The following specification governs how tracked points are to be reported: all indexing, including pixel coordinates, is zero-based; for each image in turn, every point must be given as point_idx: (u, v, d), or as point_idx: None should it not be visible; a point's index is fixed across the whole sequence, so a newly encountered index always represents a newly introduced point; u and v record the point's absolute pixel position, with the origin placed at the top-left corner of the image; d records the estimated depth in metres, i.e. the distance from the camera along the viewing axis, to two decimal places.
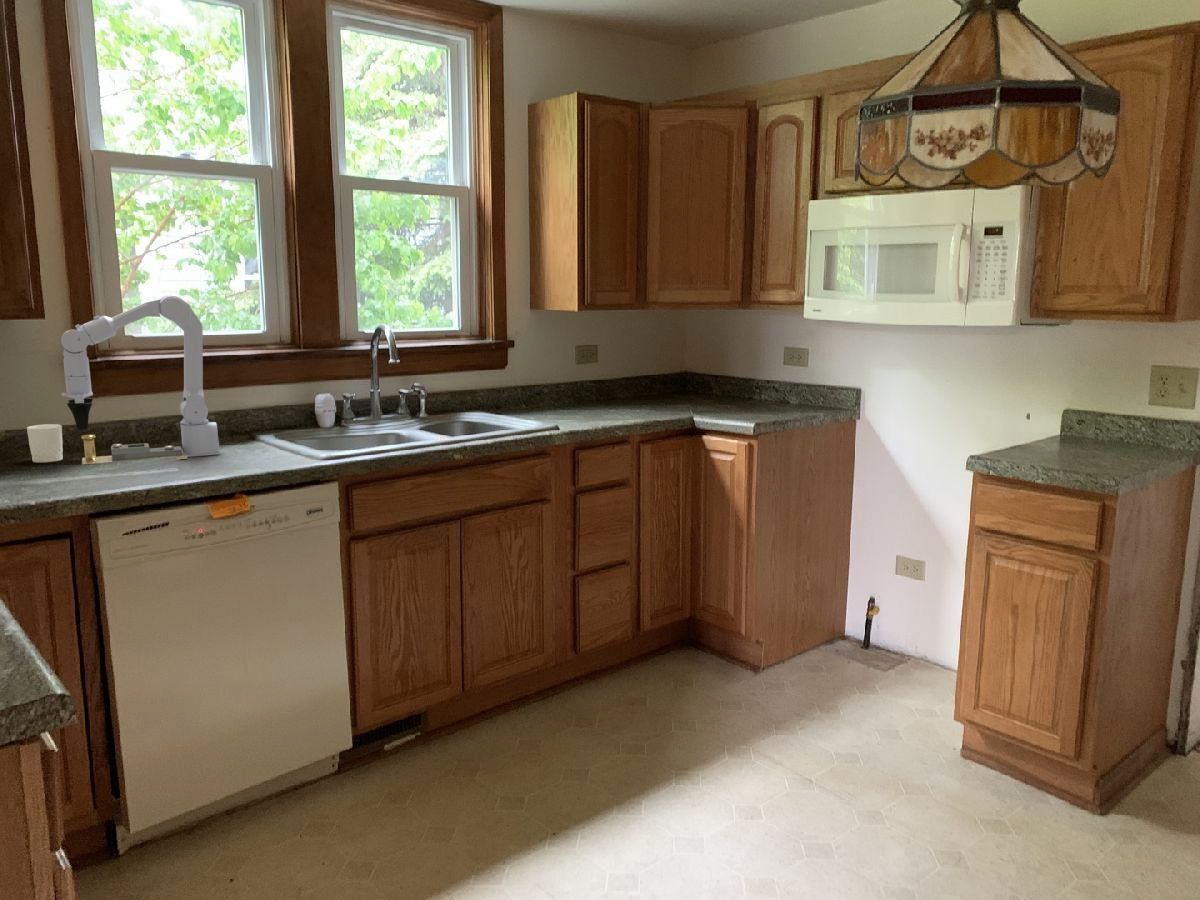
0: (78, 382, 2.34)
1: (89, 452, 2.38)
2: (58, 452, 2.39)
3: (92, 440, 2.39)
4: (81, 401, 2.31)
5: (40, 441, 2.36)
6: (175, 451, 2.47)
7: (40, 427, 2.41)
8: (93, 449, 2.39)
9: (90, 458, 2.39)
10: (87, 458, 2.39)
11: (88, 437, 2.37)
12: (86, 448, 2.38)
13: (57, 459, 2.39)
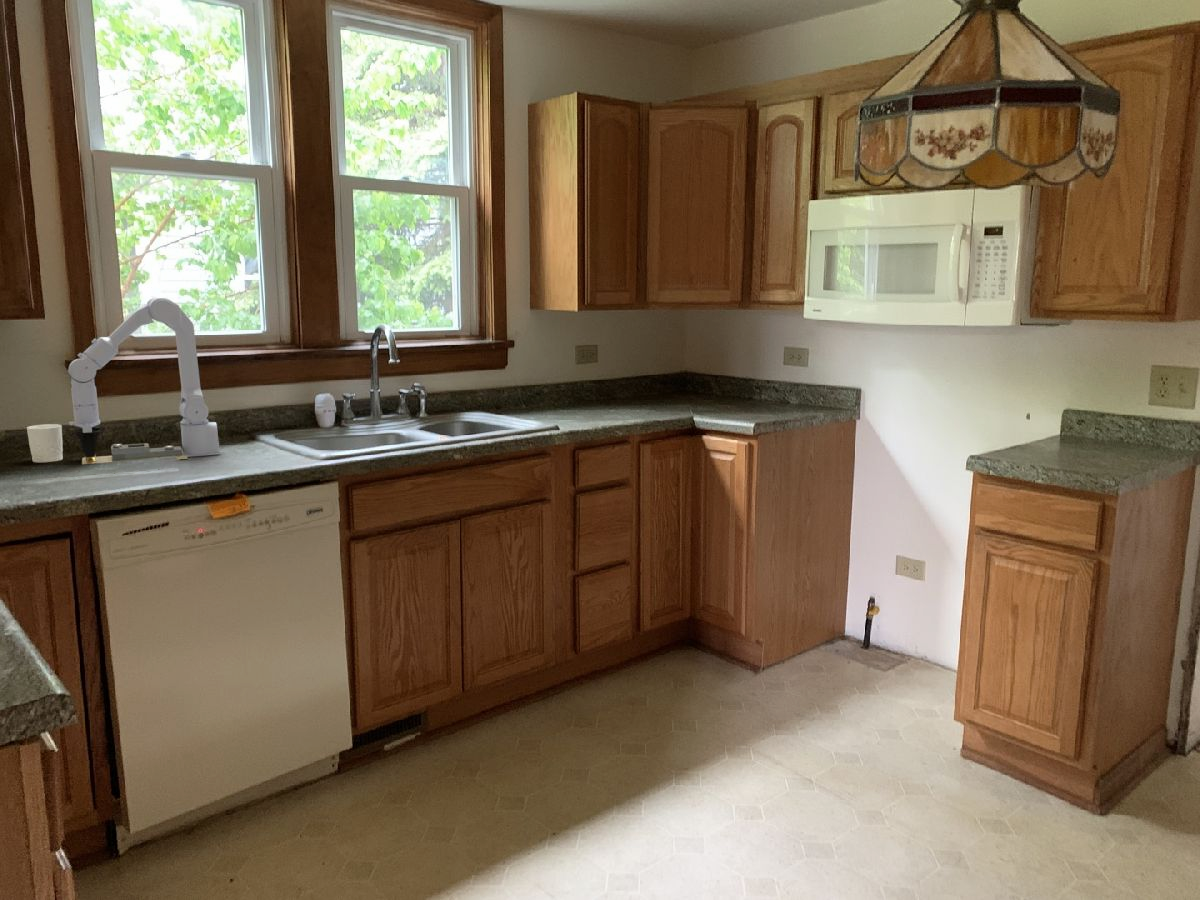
0: (86, 411, 2.35)
1: None
2: (58, 452, 2.39)
3: None
4: (89, 430, 2.32)
5: (40, 441, 2.36)
6: (175, 451, 2.47)
7: (40, 427, 2.41)
8: None
9: (90, 458, 2.39)
10: (87, 458, 2.39)
11: None
12: None
13: (57, 459, 2.39)
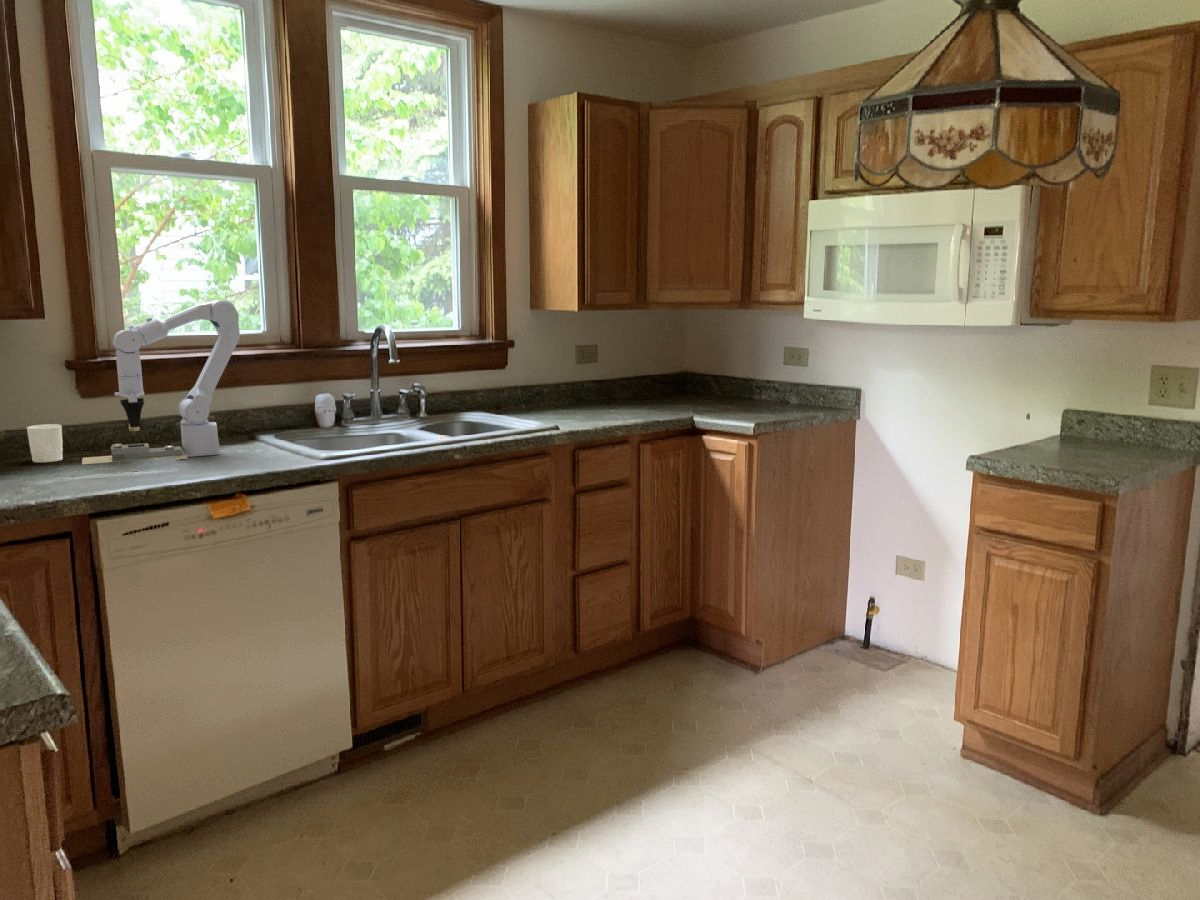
0: (131, 381, 2.39)
1: None
2: (58, 452, 2.39)
3: None
4: (134, 400, 2.36)
5: (40, 441, 2.36)
6: (175, 451, 2.47)
7: (40, 427, 2.41)
8: None
9: (134, 428, 2.43)
10: (131, 428, 2.42)
11: None
12: None
13: (57, 459, 2.39)
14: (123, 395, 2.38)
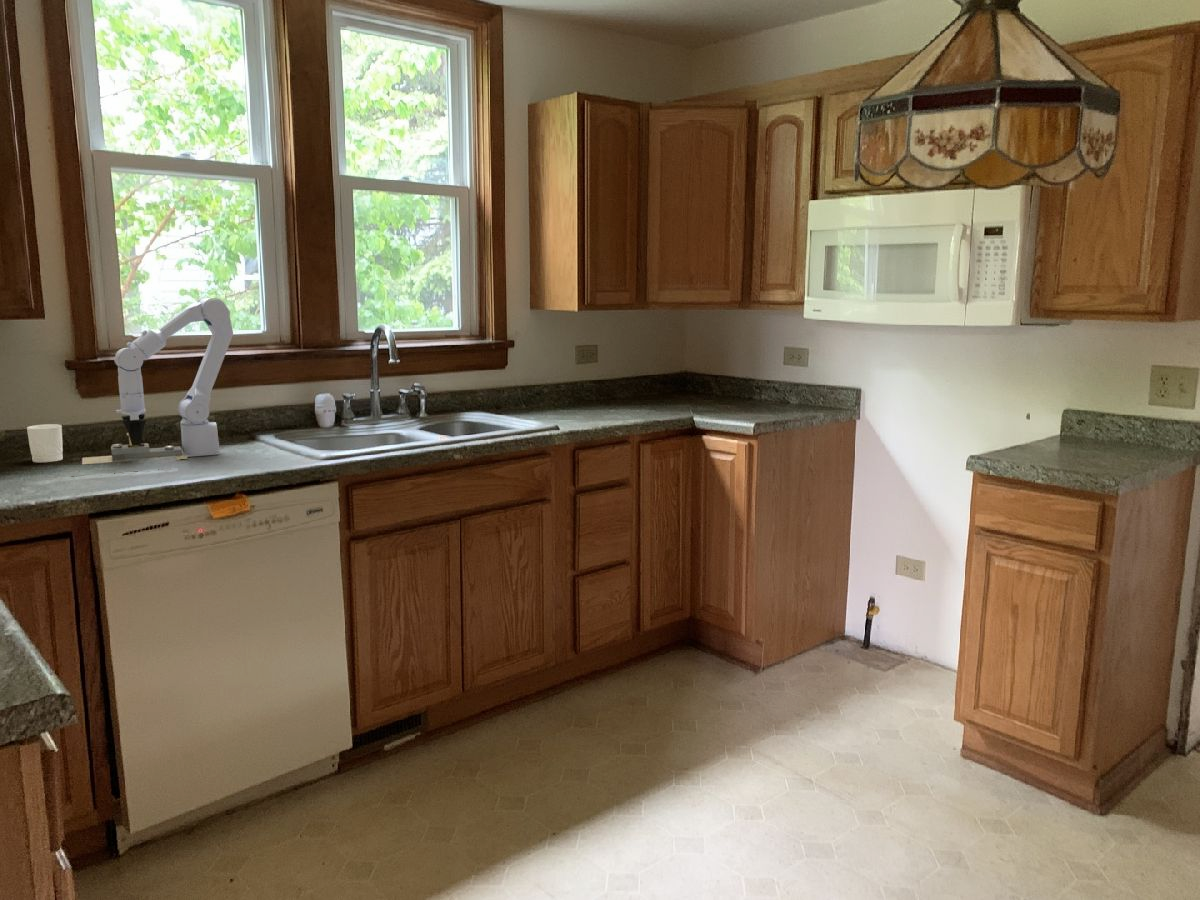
0: (133, 399, 2.40)
1: None
2: (58, 452, 2.39)
3: None
4: (136, 418, 2.37)
5: (40, 441, 2.36)
6: (175, 451, 2.47)
7: (40, 427, 2.41)
8: (138, 445, 2.44)
9: None
10: None
11: None
12: None
13: (57, 459, 2.39)
14: (125, 413, 2.39)
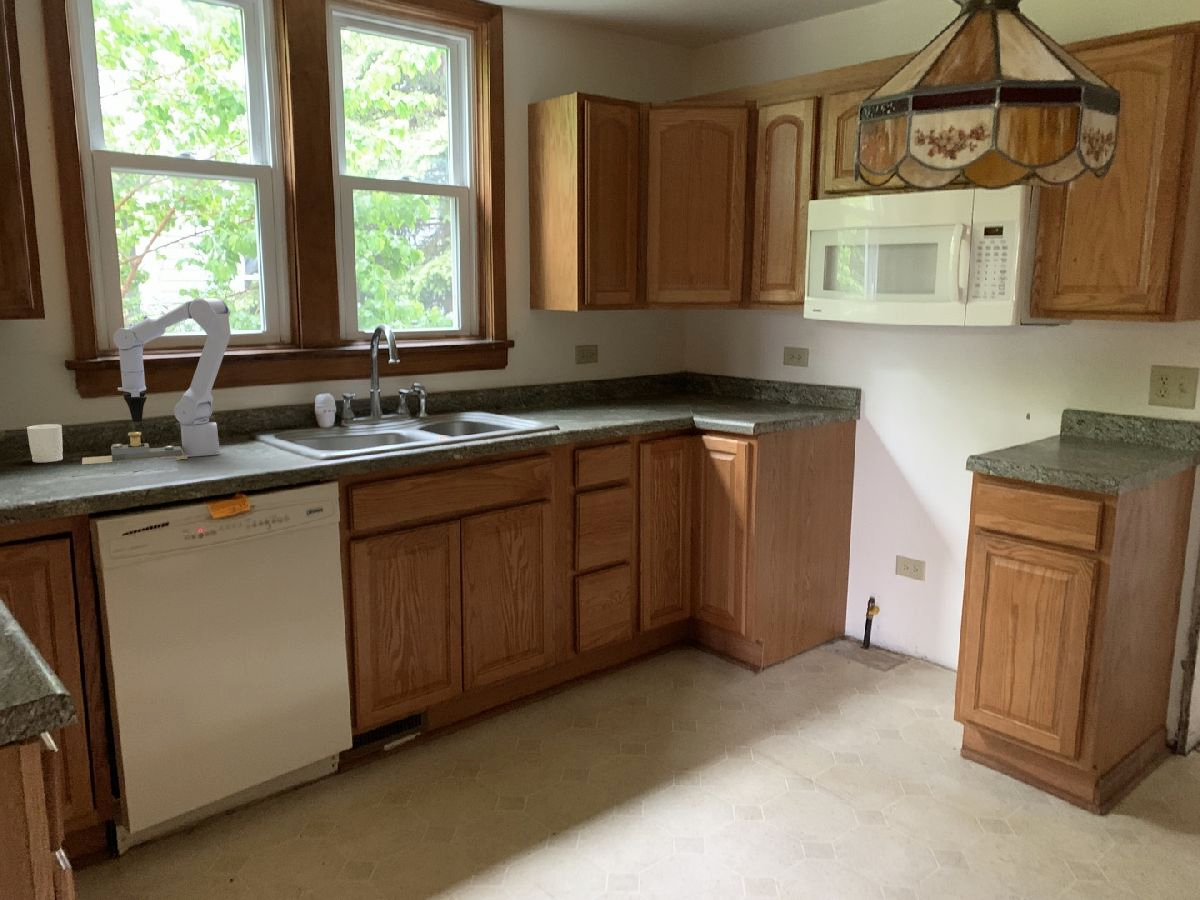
0: (133, 377, 2.50)
1: None
2: (58, 452, 2.39)
3: (138, 437, 2.44)
4: (137, 395, 2.47)
5: (40, 441, 2.36)
6: (175, 451, 2.47)
7: (40, 427, 2.41)
8: (139, 446, 2.44)
9: None
10: None
11: (134, 434, 2.43)
12: (132, 445, 2.43)
13: (57, 459, 2.39)
14: (126, 390, 2.49)
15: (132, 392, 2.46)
